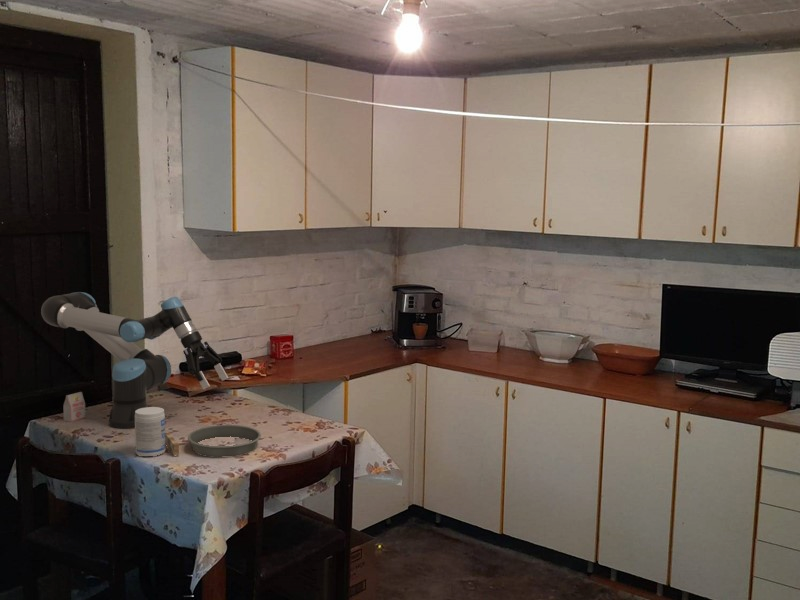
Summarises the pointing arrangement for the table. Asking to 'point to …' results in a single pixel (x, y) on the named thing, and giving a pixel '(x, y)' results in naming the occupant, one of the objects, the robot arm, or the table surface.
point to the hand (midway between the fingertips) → (216, 383)
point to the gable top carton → (74, 407)
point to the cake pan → (224, 432)
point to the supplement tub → (150, 431)
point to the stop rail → (172, 444)
